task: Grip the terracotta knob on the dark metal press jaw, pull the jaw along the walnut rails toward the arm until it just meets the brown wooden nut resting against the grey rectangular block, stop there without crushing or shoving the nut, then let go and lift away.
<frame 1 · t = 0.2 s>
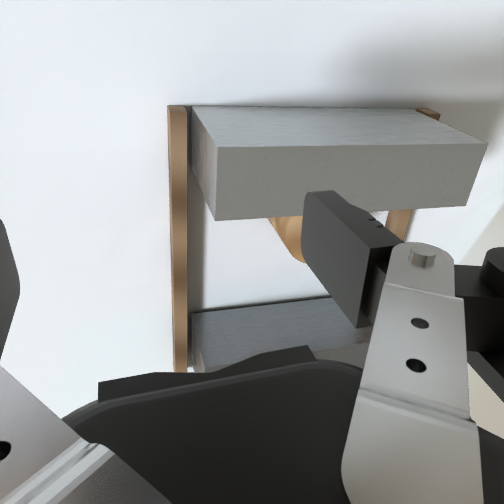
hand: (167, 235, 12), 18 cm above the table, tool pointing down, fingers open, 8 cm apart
nut: (295, 200, 33), on the table
grey rectangular block: (304, 136, 31), on the table
press frame: (288, 251, 36), on the table
press jaw: (307, 379, 34), point 7 cm above the table, slide at 0.0 cm
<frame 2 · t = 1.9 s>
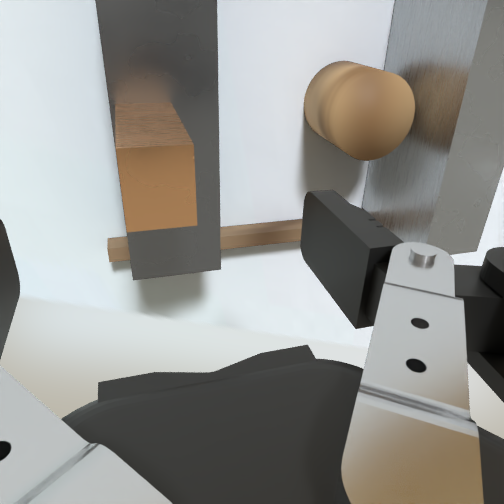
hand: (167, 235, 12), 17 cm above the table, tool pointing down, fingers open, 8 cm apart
nut: (338, 101, 29), on the table
grey rectangular block: (404, 99, 30), on the table
press frame: (275, 103, 28), on the table
press jaw: (168, 137, 21), point 7 cm above the table, slide at 0.0 cm
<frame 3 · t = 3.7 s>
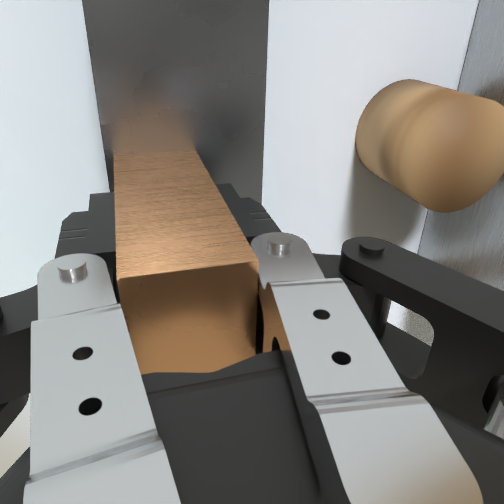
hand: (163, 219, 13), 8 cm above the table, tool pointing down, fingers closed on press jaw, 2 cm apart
nut: (398, 130, 23), on the table
grey rectangular block: (479, 126, 24), on the table
press jaw: (192, 201, 14), point 7 cm above the table, slide at 0.0 cm, touching gripper
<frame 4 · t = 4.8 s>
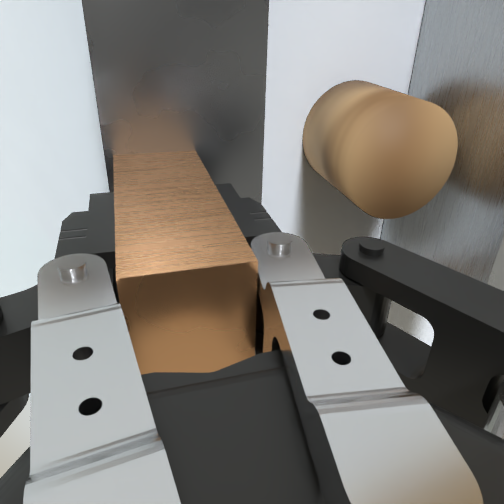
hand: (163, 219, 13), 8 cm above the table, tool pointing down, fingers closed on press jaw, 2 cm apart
nut: (348, 132, 22), on the table
grey rectangular block: (434, 128, 23), on the table
press jaw: (192, 201, 14), point 7 cm above the table, slide at 3.0 cm, touching gripper
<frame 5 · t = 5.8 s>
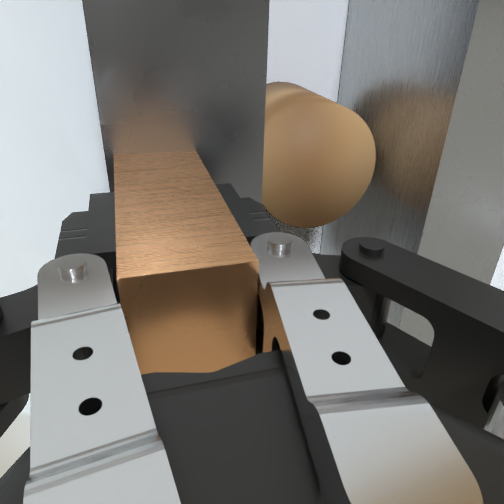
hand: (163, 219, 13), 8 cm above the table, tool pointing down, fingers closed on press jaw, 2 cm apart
nut: (276, 136, 21), on the table
grey rectangular block: (369, 132, 22), on the table
press jaw: (192, 201, 14), point 7 cm above the table, slide at 6.8 cm, touching gripper
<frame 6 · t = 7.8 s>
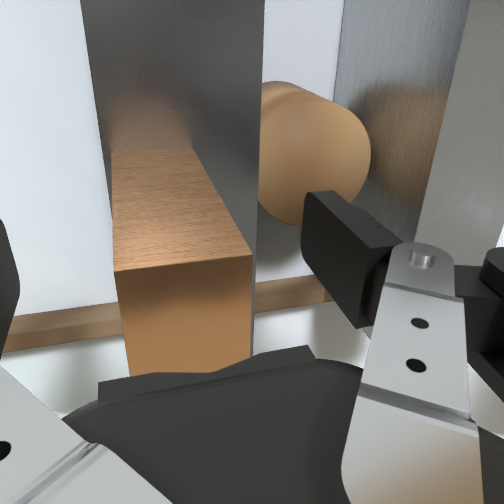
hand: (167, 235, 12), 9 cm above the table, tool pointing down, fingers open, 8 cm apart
nut: (273, 135, 21), on the table
grey rectangular block: (365, 130, 23), on the table
press frame: (181, 140, 20), on the table
press jaw: (189, 198, 14), point 7 cm above the table, slide at 6.8 cm
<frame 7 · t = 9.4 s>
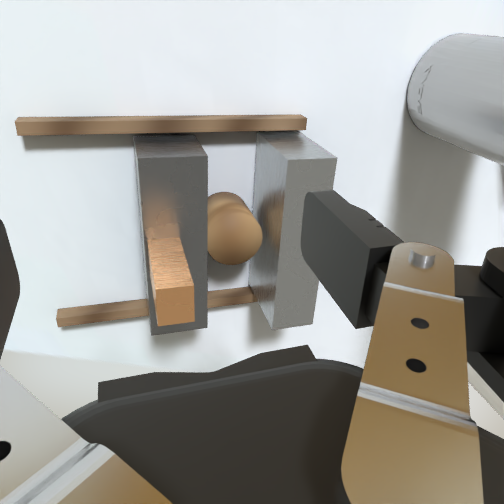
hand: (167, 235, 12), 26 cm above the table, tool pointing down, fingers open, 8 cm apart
nut: (222, 216, 42), on the table
bottle: (422, 288, 55), on the table
grey rectangular block: (271, 213, 43), on the table
press frame: (175, 220, 41), on the table
press jaw: (177, 256, 35), point 7 cm above the table, slide at 6.8 cm
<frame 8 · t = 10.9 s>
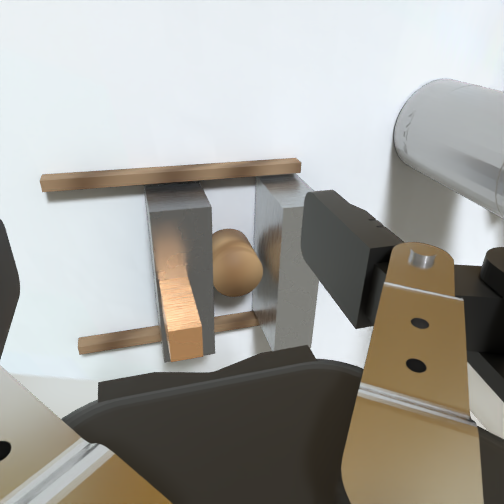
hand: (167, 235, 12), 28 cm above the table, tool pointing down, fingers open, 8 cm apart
nut: (226, 250, 46), on the table
bottle: (416, 305, 58), on the table
grey rectangular block: (271, 245, 47), on the table
press frame: (183, 255, 45), on the table
press jaw: (186, 294, 39), point 7 cm above the table, slide at 6.8 cm
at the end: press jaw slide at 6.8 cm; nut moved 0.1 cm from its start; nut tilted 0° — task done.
